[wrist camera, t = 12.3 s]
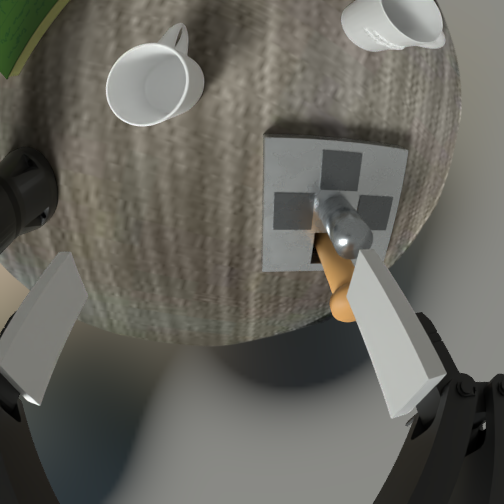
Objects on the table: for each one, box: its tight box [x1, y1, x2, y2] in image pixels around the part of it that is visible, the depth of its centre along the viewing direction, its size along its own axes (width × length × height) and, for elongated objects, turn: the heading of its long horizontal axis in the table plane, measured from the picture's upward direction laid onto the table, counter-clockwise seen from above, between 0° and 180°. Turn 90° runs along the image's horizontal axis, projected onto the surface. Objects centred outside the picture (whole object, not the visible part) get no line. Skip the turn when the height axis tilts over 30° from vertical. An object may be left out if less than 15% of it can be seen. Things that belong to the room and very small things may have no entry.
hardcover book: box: [0, 0, 70, 79], centre depth 14 cm, size 25×19×4 cm
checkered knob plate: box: [262, 134, 408, 272], centre depth 35 cm, size 20×20×11 cm
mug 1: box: [106, 23, 204, 126], centre depth 24 cm, size 9×12×11 cm
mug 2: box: [341, 0, 446, 52], centre depth 20 cm, size 8×12×12 cm
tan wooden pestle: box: [313, 233, 356, 322], centre depth 36 cm, size 6×6×15 cm
